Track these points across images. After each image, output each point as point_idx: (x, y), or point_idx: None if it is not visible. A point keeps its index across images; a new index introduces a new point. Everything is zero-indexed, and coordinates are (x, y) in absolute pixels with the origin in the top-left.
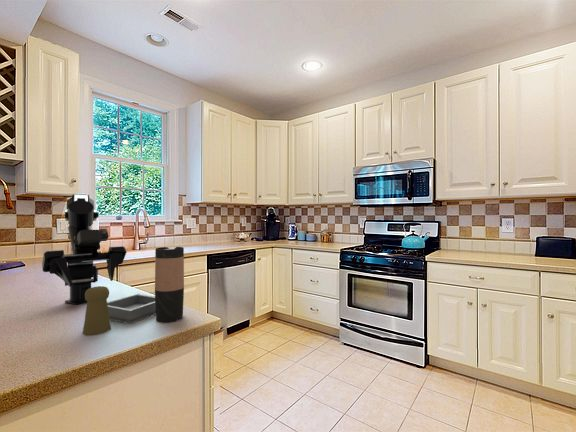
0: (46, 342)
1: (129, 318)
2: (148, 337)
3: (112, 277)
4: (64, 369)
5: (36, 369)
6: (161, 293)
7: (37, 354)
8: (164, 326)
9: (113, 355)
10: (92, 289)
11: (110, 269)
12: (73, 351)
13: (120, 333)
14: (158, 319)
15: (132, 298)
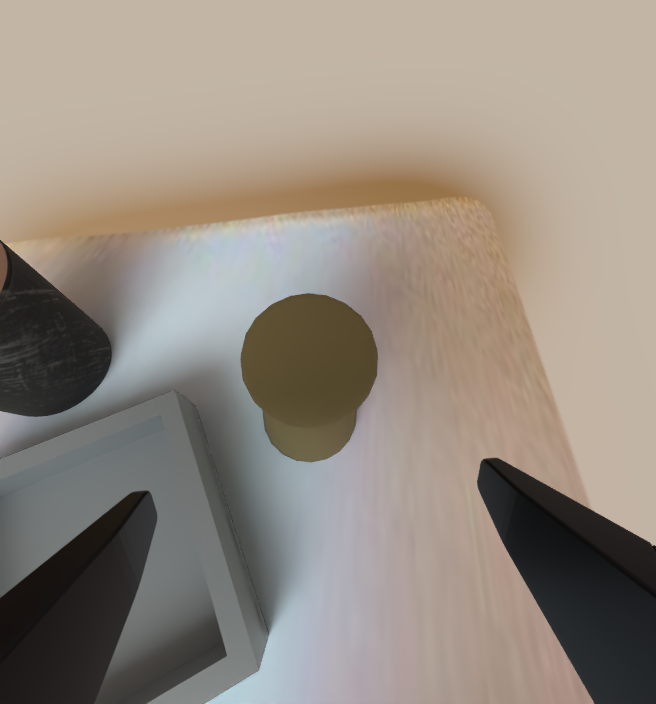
0: (457, 406)
1: (188, 402)
2: (205, 251)
3: (130, 498)
4: (402, 212)
5: (452, 244)
6: (13, 256)
7: (465, 324)
8: (122, 299)
9: (309, 211)
10: (342, 316)
11: (60, 602)
12: (385, 286)
13: None
14: (105, 343)
15: None
